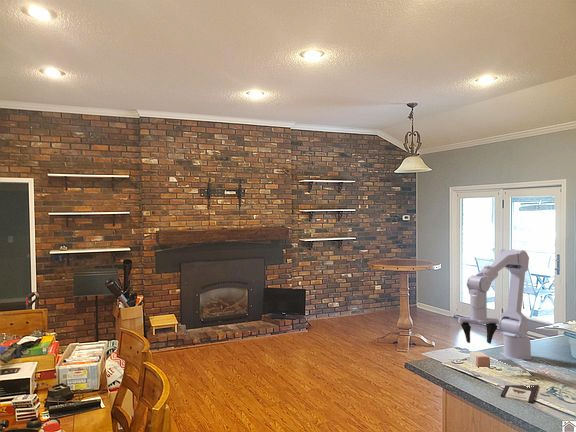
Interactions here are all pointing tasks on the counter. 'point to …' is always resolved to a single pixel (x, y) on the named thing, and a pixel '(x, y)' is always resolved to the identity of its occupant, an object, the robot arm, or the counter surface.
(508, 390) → the chocolate bar
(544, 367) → the counter surface
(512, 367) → the mat
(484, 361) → the card box
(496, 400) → the counter surface
